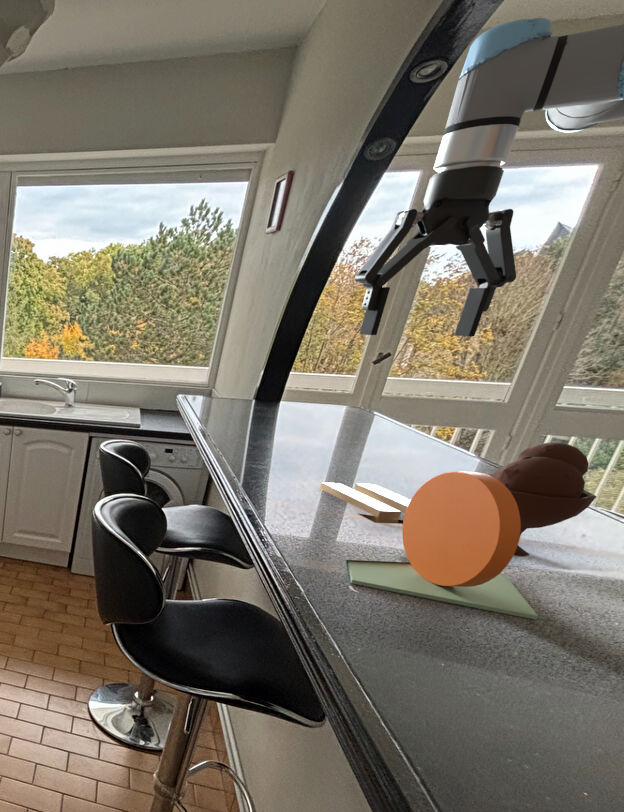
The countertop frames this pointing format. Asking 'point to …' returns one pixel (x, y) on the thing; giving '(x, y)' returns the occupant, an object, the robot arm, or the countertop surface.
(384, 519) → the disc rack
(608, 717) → the countertop surface
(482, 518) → the orange disc
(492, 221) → the robot arm
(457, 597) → the sage mat
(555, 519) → the ice cream bowl
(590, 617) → the countertop surface
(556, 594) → the countertop surface
